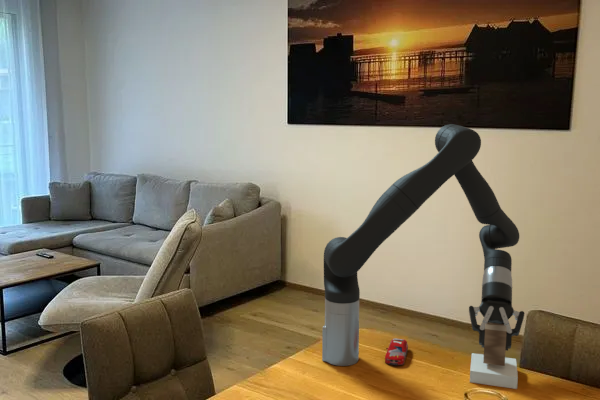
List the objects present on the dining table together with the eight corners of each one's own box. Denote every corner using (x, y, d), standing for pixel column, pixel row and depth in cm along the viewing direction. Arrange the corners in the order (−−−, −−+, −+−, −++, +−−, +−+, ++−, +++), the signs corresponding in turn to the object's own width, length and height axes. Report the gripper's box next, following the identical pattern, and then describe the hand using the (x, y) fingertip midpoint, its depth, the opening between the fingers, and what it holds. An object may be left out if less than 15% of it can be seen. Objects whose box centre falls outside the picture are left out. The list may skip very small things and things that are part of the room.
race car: (403, 369, 146) (403, 354, 145) (382, 366, 147) (383, 352, 147) (410, 349, 158) (410, 335, 157) (391, 346, 160) (391, 333, 159)
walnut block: (483, 363, 139) (485, 328, 138) (483, 355, 144) (485, 321, 142) (504, 366, 138) (506, 331, 136) (504, 357, 142) (506, 324, 141)
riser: (469, 382, 138) (470, 370, 137) (471, 363, 148) (471, 353, 148) (517, 389, 134) (517, 377, 134) (515, 369, 145) (516, 358, 144)
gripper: (468, 278, 147) (464, 338, 138) (527, 283, 142) (527, 345, 133) (468, 291, 153) (465, 350, 143) (524, 296, 148) (524, 357, 139)
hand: (494, 347), depth 138 cm, fingers closed on walnut block, 5 cm apart
